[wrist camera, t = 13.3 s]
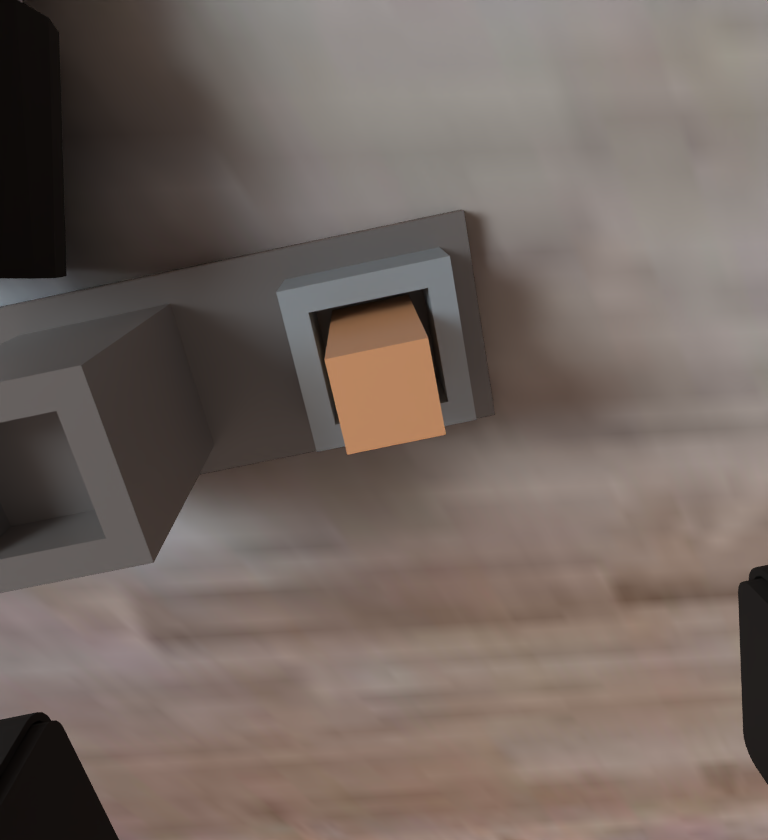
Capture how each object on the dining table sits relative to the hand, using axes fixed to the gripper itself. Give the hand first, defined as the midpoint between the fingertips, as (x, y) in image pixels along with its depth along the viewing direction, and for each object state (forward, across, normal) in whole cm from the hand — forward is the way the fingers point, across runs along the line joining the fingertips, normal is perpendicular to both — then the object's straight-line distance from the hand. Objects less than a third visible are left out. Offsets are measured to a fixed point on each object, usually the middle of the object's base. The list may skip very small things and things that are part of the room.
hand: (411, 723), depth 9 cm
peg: (+28, 0, +1) cm, 28 cm away
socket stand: (+29, +7, +1) cm, 29 cm away
